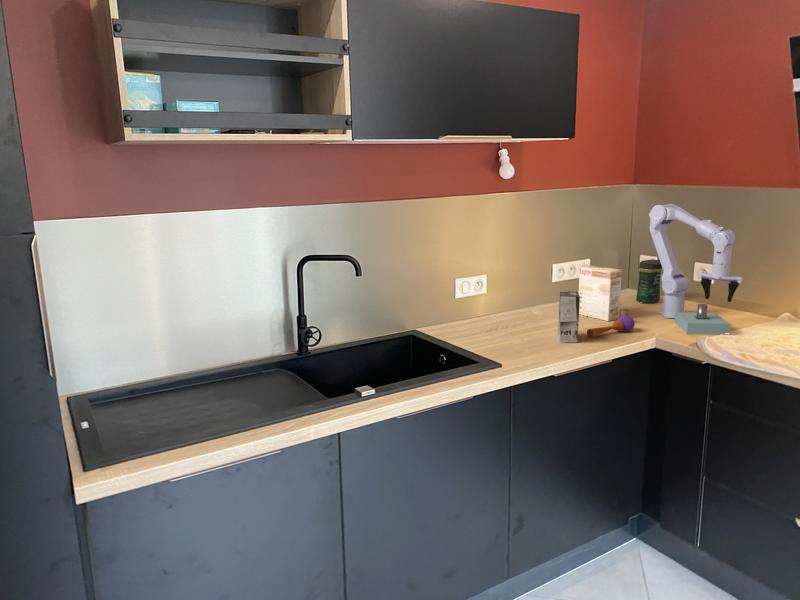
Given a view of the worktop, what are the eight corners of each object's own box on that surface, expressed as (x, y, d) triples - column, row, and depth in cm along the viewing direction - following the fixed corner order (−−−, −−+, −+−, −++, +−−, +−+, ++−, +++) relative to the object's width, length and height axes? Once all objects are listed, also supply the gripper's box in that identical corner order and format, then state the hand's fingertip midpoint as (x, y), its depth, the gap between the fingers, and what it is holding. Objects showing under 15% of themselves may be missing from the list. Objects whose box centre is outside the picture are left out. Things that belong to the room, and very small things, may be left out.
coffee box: (578, 342, 213) (580, 296, 210) (558, 342, 215) (560, 296, 211) (576, 335, 222) (578, 291, 219) (557, 335, 223) (559, 290, 220)
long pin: (695, 327, 230) (697, 303, 228) (705, 328, 229) (707, 304, 227) (695, 329, 227) (698, 305, 225) (705, 330, 226) (707, 306, 224)
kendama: (582, 325, 222) (624, 313, 230) (585, 341, 222) (626, 329, 231) (594, 325, 216) (636, 314, 225) (597, 342, 217) (639, 330, 225)
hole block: (674, 322, 237) (675, 312, 236) (714, 323, 235) (715, 313, 234) (686, 333, 222) (687, 323, 221) (729, 334, 220) (730, 323, 219)
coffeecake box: (619, 319, 244) (622, 269, 240) (607, 321, 240) (610, 271, 236) (588, 311, 256) (590, 264, 252) (576, 314, 252) (579, 266, 248)
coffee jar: (649, 305, 265) (652, 261, 261) (633, 302, 272) (635, 259, 268) (663, 302, 271) (666, 259, 266) (646, 299, 277) (649, 257, 273)
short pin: (618, 321, 240) (619, 309, 239) (626, 321, 239) (627, 309, 238) (619, 323, 237) (620, 311, 236) (628, 324, 236) (629, 311, 235)
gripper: (696, 263, 230) (693, 299, 233) (739, 267, 220) (736, 304, 223) (703, 260, 235) (700, 296, 238) (746, 264, 225) (742, 301, 228)
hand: (718, 300), depth 231 cm, fingers open, 7 cm apart
